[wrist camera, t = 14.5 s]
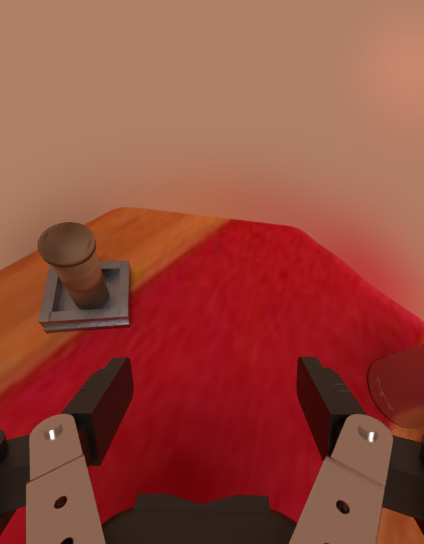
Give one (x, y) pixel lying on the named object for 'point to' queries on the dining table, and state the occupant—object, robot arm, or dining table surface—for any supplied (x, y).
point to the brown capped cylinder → (75, 263)
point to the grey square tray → (68, 317)
